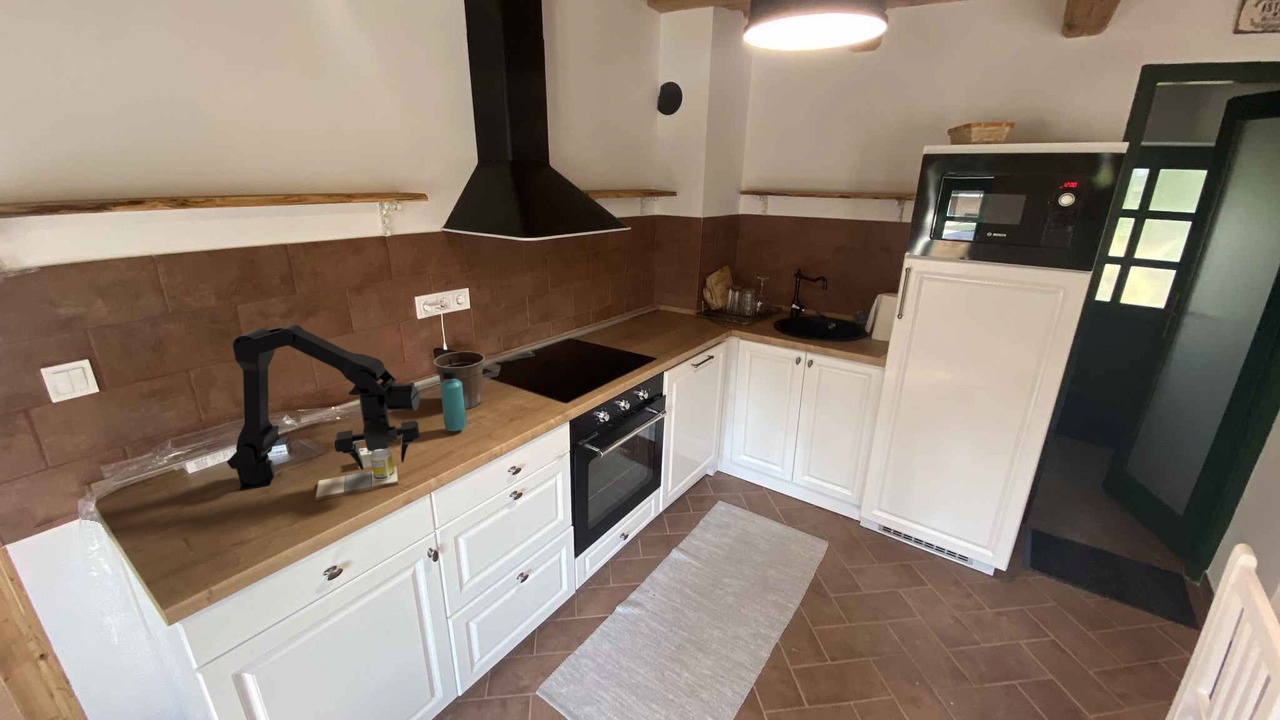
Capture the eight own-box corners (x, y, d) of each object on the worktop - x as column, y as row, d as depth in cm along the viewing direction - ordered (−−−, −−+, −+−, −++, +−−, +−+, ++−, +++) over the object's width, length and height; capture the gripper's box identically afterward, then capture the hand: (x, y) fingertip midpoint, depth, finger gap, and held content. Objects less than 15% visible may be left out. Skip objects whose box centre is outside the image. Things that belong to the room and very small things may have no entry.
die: (358, 469, 139) (356, 456, 137) (359, 462, 142) (356, 449, 141) (375, 466, 140) (373, 453, 139) (375, 459, 144) (373, 446, 142)
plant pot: (448, 417, 169) (443, 370, 164) (431, 400, 181) (426, 356, 176) (495, 405, 179) (492, 360, 174) (476, 390, 191) (473, 348, 186)
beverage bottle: (471, 431, 161) (465, 370, 154) (451, 438, 156) (444, 375, 149) (460, 424, 165) (454, 364, 158) (440, 430, 160) (433, 369, 154)
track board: (316, 500, 125) (315, 497, 124) (319, 483, 131) (318, 480, 131) (398, 484, 132) (397, 481, 132) (397, 469, 139) (396, 465, 139)
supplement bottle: (388, 469, 137) (384, 440, 134) (397, 475, 134) (393, 446, 131) (370, 476, 134) (365, 447, 131) (379, 483, 131) (374, 453, 128)
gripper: (328, 430, 117) (339, 489, 122) (417, 416, 125) (424, 473, 130) (331, 410, 127) (341, 466, 132) (414, 399, 134) (421, 452, 140)
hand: (382, 465), depth 133 cm, fingers open, 9 cm apart
